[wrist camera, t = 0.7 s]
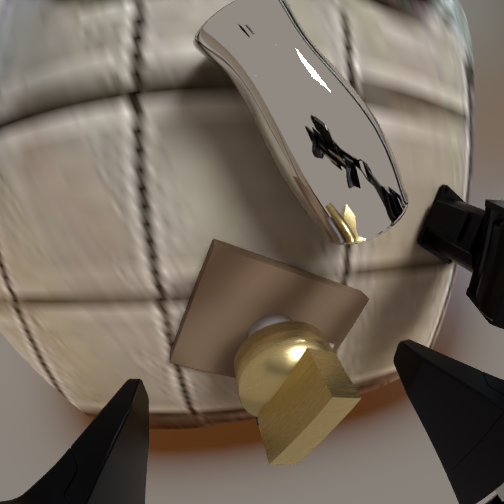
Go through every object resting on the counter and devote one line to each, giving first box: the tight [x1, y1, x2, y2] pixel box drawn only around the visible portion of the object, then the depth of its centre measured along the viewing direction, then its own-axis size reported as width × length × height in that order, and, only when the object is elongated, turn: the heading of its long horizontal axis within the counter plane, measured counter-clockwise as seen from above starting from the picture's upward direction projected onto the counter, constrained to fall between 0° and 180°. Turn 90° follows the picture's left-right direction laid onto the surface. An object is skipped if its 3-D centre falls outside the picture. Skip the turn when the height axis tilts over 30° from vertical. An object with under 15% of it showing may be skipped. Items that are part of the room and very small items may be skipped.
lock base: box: [170, 239, 369, 377], centre depth 22 cm, size 14×11×4 cm
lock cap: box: [234, 321, 361, 465], centre depth 17 cm, size 8×7×7 cm
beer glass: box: [193, 0, 408, 245], centre depth 15 cm, size 7×7×15 cm
